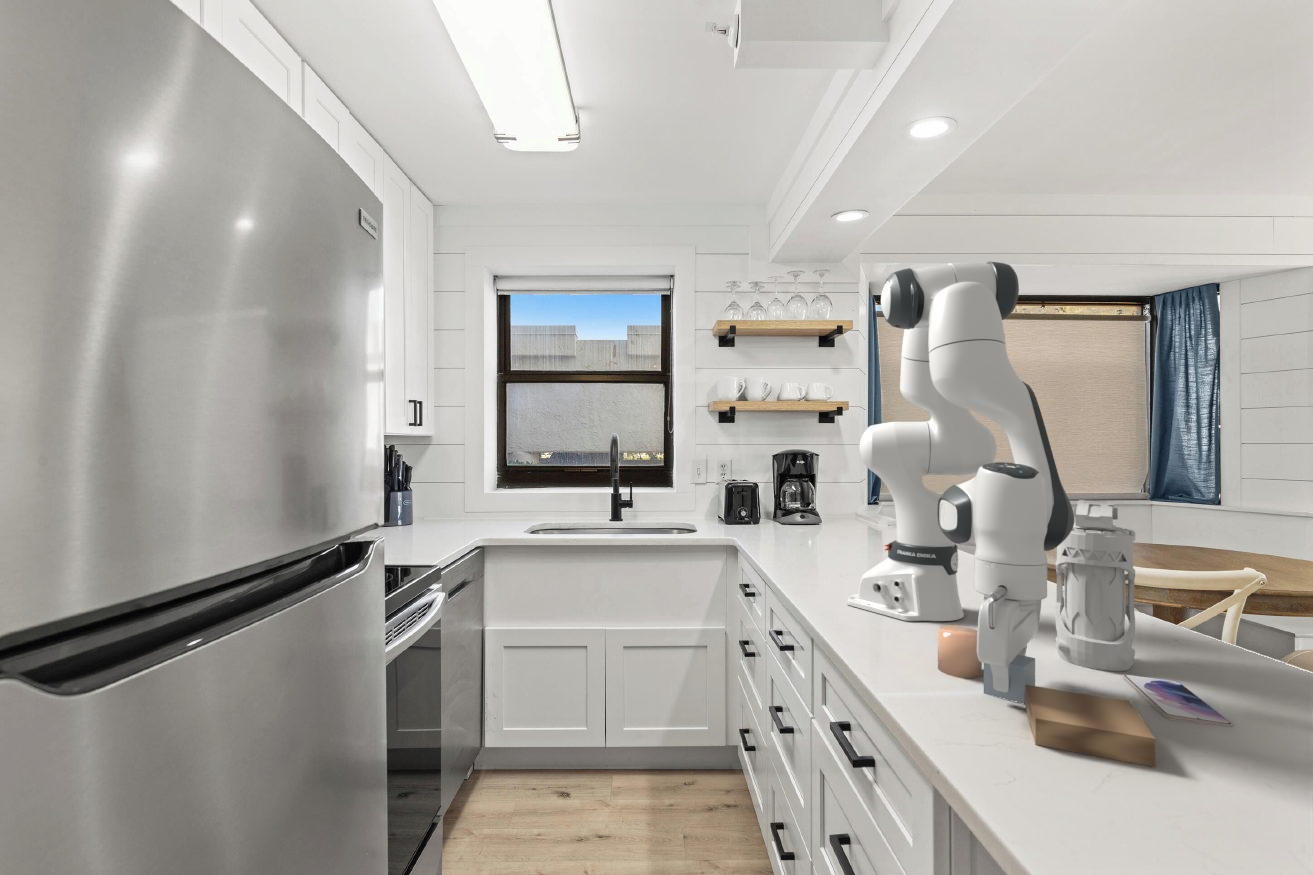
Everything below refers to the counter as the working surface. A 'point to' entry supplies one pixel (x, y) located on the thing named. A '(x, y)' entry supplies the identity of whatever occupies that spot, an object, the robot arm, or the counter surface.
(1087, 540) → the lantern
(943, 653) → the peach rounded cylinder
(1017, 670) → the cube
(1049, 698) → the base slab
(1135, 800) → the counter surface
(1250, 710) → the counter surface
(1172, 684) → the smartphone
